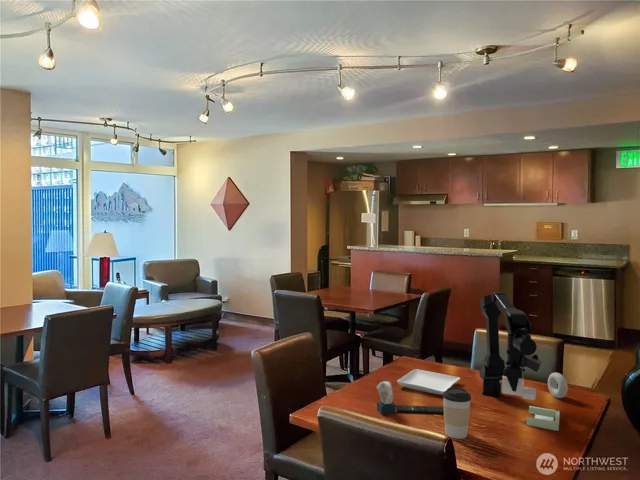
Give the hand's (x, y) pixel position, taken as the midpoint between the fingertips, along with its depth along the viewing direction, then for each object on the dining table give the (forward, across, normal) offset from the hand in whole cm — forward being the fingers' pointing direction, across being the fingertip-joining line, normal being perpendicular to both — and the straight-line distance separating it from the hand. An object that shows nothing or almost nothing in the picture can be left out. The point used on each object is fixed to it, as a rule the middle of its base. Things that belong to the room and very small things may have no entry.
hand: (514, 390), depth 177 cm
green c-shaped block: (+10, 0, -10) cm, 13 cm away
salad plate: (+10, +17, +36) cm, 41 cm away
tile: (+10, 0, -10) cm, 14 cm away
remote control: (+10, -10, +28) cm, 32 cm away
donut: (+10, +28, -14) cm, 33 cm away
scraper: (+1, 0, -1) cm, 2 cm away
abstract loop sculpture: (+10, -18, +42) cm, 47 cm away
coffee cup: (+10, -25, +16) cm, 31 cm away
